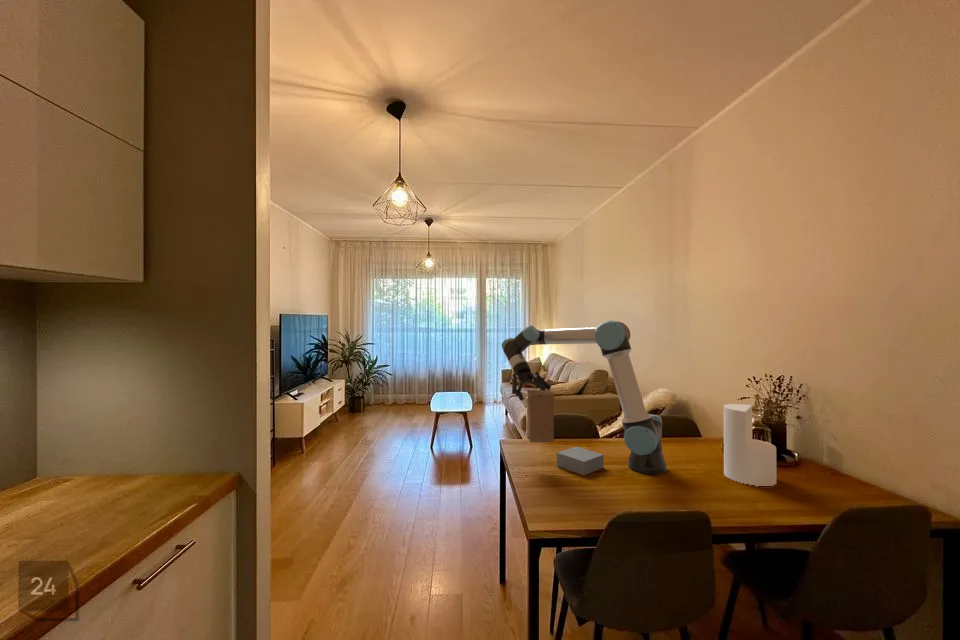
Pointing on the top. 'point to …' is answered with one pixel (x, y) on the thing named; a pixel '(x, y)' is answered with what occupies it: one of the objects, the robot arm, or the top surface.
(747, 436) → the white stepped column
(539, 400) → the wooden block
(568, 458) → the slate base block
